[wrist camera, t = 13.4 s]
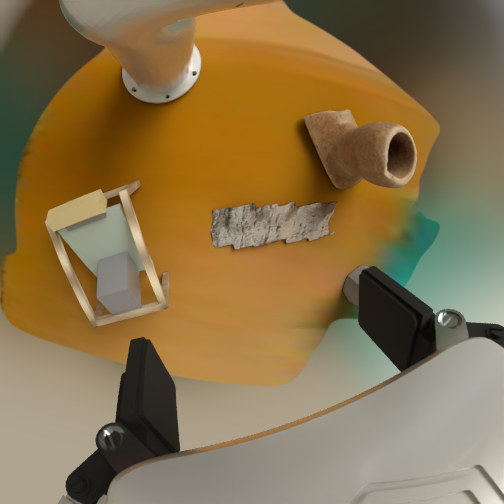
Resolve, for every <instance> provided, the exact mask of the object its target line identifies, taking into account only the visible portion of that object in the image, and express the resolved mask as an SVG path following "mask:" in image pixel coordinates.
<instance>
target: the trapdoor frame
mask: <svg viewBox="0 0 504 504" xmlns="http://www.w3.org/2000/svg"><path fill="white" fill-rule="evenodd" d="M140 186H141V185H140V182H139V180H137V181H134V182H132V183H131V184H128V185H125V186H122V187H119V188H117V189H114V190H111V191H108V192H105V193H103V194H104V196H105V198H106V199H109V198H112V197H115V196H118V195H120V198H121V201H122V204H123V207H124V211H125V214H126V217H127V220H128V223H129V226H130V229H131V232H132V235H133V238H134V240H135V243H136V246H137V249H138V252H139V254H140V257H141V260H142V262H143V265H144V267H145V270H146V273H147V275H148V278H149V280H150V283H151V285H152V288H153V290H154V292H155V295H156V297H157V300H158V301H156V302H153V303H149V304H145V305H142V308H138V309H135V310H131V311H127V312H123V313H120V314H116V315H112V314H108V315H104V316H102V315H103V312H104V310H105V307H104V305H103V304H102V303H101V302H100V301H99V303H98V305H97V308H96V310H95V312H94V311H93V309H92V307H91V305H90V303H89V301H88V299H87V297H86V295H85V293H84V291H83V289H82V287H81V285H80V283H79V281H78V279H77V276H76V274H75V272H74V270H73V268H72V265H71V263H70V261H69V258H68V256H67V253H66V251H65V248H64V246H63V243H62V241H61V238H60V236H59V233H58V230H57V231H55V232H53V230H52V229H51V228H50V227H49V225H48V224H47V223H46V221H45V223H46V226H47V229H48V232H49V234H50V237H51V240H52V242H53V245H54V247H55V250H56V252H57V255H58V257H59V260H60V262H61V264H62V267H63V269H64V271H65V273H66V275H67V278H68V280H69V282H70V284H71V286H72V288H73V290H74V292H75V294H76V296H77V298H78V300H79V302H80V304H81V306H82V308H83V310H84V312H85V314H86V315H87V317H88V319H89V321H90V323H91V324H92V326H93V327H97V326H101V325H105V324H109V323H113V322H117V321H121V320H125V319H129V318H133V317H136V316H140V315H144V314H148V313H152V312H155V311H159V310H163V309H166V308H168V303H169V284H170V275H169V272H168V271H167V272H164V273H163V277H162V285H160V282H159V280H158V277H157V275H156V272H155V269H154V267H153V264H152V261H151V259H150V256H149V253H148V250H147V247H146V245H145V242H144V239H143V236H142V233H141V230H140V227H139V224H138V221H137V218H136V215H135V212H134V208H133V205H132V202H131V199H130V195H131V194H132V193H133V192H134V191H135V190H136V189H138V188H139V187H140Z"/></svg>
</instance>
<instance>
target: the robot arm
mask: <svg viewBox="0 0 504 504" xmlns="http://www.w3.org/2000/svg"><path fill="white" fill-rule="evenodd" d="M59 1H60V6H61V9H62V12H63V14H64V15H65V17H66V19H67V20H68V22H69V23H70V24H71V25H72V26H73V27H74V28H75V29H76V30H77V31H78V32H79V33H80V34H81V35H83V36H84V37H86V38H87V39H89V40H91V41H93V42H95V43H97V44H100V45H102V46H105V47H107V48H108V49H109V51H110V52H111V53H112V54H113V55H114V57H115V58H116V59H117V61H118V62H119V63H120V64H121V66H122V79H123V82H124V85H125V87H126V88H127V90H128V91H129V92H130V93H131V94H132V95H133V96H134V97H135V98H137V99H139V100H141V101H144V102H147V103H154V104H158V103H166V102H170V101H173V100H175V99H178V98H179V97H181V96H183V95H184V94H185V93H187V92H188V91H189V90H190V89H191V88H192V86H193V85H194V84H195V82H196V81H197V79H198V77H199V74H200V70H201V57H200V53H199V51H198V49H197V47H196V46H195V45H194V39H195V32H196V17H197V16H199V15H203V14H208V13H213V12H218V11H223V10H229V9H235V8H241V7H248V6H255V5H262V4H269V3H274V2H278V1H281V0H59ZM192 74H196V75H195V76H193V75H192ZM135 89H136V92H134V90H135ZM166 96H169V98H168V99H167V98H166ZM358 322H359V325H360V327H361V328H362V329H363V330H364V331H365V333H366V334H367V335H368V336H369V337H370V338H371V339H372V340H373V341H374V342H375V344H376V345H377V346H378V347H379V348H380V349H381V350H382V351H383V352H384V354H385V355H386V356H387V357H388V358H389V359H390V360H391V361H392V362H393V364H394V365H395V366H396V367H397V368H398V369H399V370H400V371H401V373H399V374H397V375H395V376H393V377H392V378H390V379H388V380H386V381H384V382H383V383H381V384H379V385H377V386H375V387H373V388H371V389H369V390H367V391H365V392H363V393H361V394H359V395H357V396H354V397H353V398H350V399H348V400H346V401H344V402H341V403H339V404H337V405H334V406H332V407H330V408H327V409H325V410H323V411H320V412H318V413H315V414H313V415H310V416H308V417H305V418H302V419H300V420H297V421H294V422H291V423H288V424H285V425H282V426H279V427H277V428H273V429H270V430H267V431H264V432H260V433H257V434H254V435H251V436H247V437H243V438H239V439H236V440H231V441H227V442H223V443H219V444H215V445H210V446H206V447H201V448H196V449H192V450H186V451H181V452H179V451H180V443H179V432H178V420H177V409H176V408H177V407H176V389H175V384H174V382H173V380H172V378H171V376H170V375H169V373H168V371H167V369H166V368H165V366H164V364H163V362H162V361H161V359H160V357H159V355H158V354H157V352H156V350H155V348H154V346H153V344H152V343H151V341H150V340H149V339H148V340H146V339H145V338H144V337H141V338H137V339H133V340H131V342H130V347H129V353H128V359H127V365H126V372H125V373H123V374H122V376H121V381H120V388H119V395H118V403H117V412H116V420H115V422H114V423H113V422H112V423H109V424H106V425H104V426H103V427H102V428H101V429H100V430H99V431H98V433H97V435H96V439H95V440H96V446H97V448H98V449H97V450H96V451H95V452H94V453H93V454H92V455H91V456H90V457H88V458H87V459H86V460H85V461H84V462H83V463H82V464H81V465H80V466H79V467H77V469H76V470H74V471H73V472H72V473H71V474H70V475H69V476H68V478H67V480H66V491H67V493H68V494H67V496H66V497H65V496H62V498H61V499H60V501H59V503H58V504H504V327H503V326H501V325H498V324H488V323H487V324H486V323H471V322H466V320H465V318H464V316H463V315H462V314H461V313H460V312H458V311H456V310H454V309H443V310H440V311H439V312H437V314H436V315H435V314H434V313H433V309H432V308H430V307H429V306H428V305H426V304H425V303H424V302H422V301H421V300H420V299H418V298H417V297H416V296H415V295H413V294H412V293H410V292H409V291H408V290H407V289H405V288H404V287H403V286H401V285H400V284H399V283H397V282H396V281H395V280H393V279H392V278H390V277H389V276H388V275H386V274H385V273H384V272H382V271H381V270H379V269H378V268H377V267H375V266H371V267H369V268H366V269H363V270H362V272H361V274H360V275H359V316H358Z"/></svg>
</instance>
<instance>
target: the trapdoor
mask: <svg viewBox="0 0 504 504" xmlns="http://www.w3.org/2000/svg"><path fill="white" fill-rule="evenodd" d="M46 223H47V224H48V225H49V227H50V228H51V229H52V230H53V232H55V231H57V230H58V232H59V234H60V235H61V236H62V238H63V239H64V240H65V241H66V242H67V244H68V245H69V246H70V247H71V249H72V250H73V251H74V252H75V253H76V254H77V256H78V257H79V258H80V259H81V260H82V261H83V263H84V264H85V265H86V266H87V267H88V268H89V269H90V270H91V272H92V273H93V274H94V275H95V276H96V277H97V278H98V265H99V260H100V259H103V258H106V257H110V256H113V255H116V254H119V253H122V252H125V251H128V253H129V255H130V257H131V258H132V260H133V262H134V263H135V265H136V267H137V268H138V270H139V271H142V270H145V267H144V265H143V262H142V260H141V257H140V254H139V252H138V249H137V246H136V243H135V240H134V238H133V235H132V232H131V229H130V226H129V223H128V220H127V217H126V214H125V211H124V209H123V207H122V206H121V204H117V205H114V206H111V207H108V208H107V200H106V198H105V196H104V194H103V192H102V190H101V189H99V190H97V191H94V192H92V193H89V194H86V195H84V196H81V197H79V198H76V199H74V200H72V201H69V202H67V203H64V204H62V205H60V206H58V207H55V208H53V209H51V210H49V211H48V215H47V219H46ZM150 259H151V257H150ZM151 261H152V259H151ZM152 264H153V261H152ZM153 267H154V264H153Z"/></svg>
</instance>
